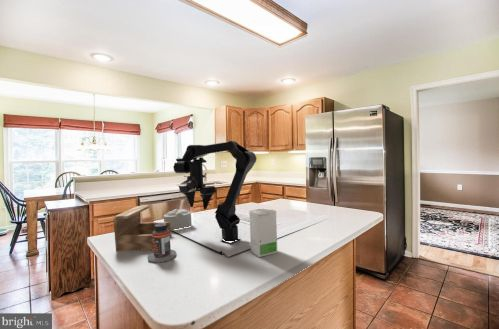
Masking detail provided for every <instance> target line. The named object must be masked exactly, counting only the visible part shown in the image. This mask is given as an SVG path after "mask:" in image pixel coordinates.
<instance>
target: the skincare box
mask: <svg viewBox="0 0 499 329" xmlns="http://www.w3.org/2000/svg"><path fill="white" fill-rule="evenodd" d="M248 212H249V231H250V232H249V234H250V236H249V237H250V252H251V253H252V254H254V255H255V256H256V257H258V258H261V257H265V256H269V255H273V254H277V253H278V231H277V229H278V227H277V226H278V225H277V210H274V209H271V208H268V207H266V208H257V209H253V210H252V209H251V210H249V211H248Z"/></svg>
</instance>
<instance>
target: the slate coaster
mask: <svg viewBox="0 0 499 329" xmlns="http://www.w3.org/2000/svg"><path fill="white" fill-rule="evenodd" d="M176 257H177V252H176V250H175V249H171V253H170V254H169V255H168V256H165V257H155V256H154V251H153V252H151V253H149V254H148V255H147V257H146V258H147V262H149V263H153V264H160V263H165V262H169V261H172V260H174V258H176Z"/></svg>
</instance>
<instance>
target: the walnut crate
mask: <svg viewBox="0 0 499 329" xmlns="http://www.w3.org/2000/svg"><path fill="white" fill-rule="evenodd" d="M147 209H150V206H149V205H136V206H135V207H132V208H130V209H128V210H125V211H124V212H121V213H119V214H117V215H115V216H113V217H114V218H113V231H114V232H113V233H114V244H115V251H116V252H122V251H129V252H130V251H131V252H132V251H154V250H153V231H155V225H156V224H159V223H166V226H167V227H166V228H167V229H168V230H169V232H170V236H171V234H172V233H171V232H172V231H171V230H170V222H164V221H161V222H158V221H157V222H141V217H140V213H141V212H144V211H146V210H147Z"/></svg>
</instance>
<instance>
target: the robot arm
mask: <svg viewBox="0 0 499 329" xmlns="http://www.w3.org/2000/svg"><path fill="white" fill-rule="evenodd" d="M223 152H229V153H230V155H231V156H232V157H233V158H234V160H235V173H234V176H233V178H232V180H231V183H230V187H229V189H228V191H227V194H226V197H225V200H224V201H223V202H221V203H218V204H217V207H216V210H215V211H214V214H215V215H214V216H215V217H214V218H215V219H216V222H217V225H218V226H219V228H220V229H221V239H224V240H225V241H235V240H238V237H239V228H238V227H239V226H238V224H240V222H241V219H240V218H239V216H238V215H237V214H236V210H237V208H236V203H237V200H238V198H239V195H240V192H241V190H242V188H243V185H244V183H245V180H246V177H247V175H248V174H249V172H250V171H251V170H252V168H253V167H254V166H255V163H256V162H257V156H256V154H255V153H254V152H253V151H250V150H248V149H247V148H246V147H243V146H242V145H241V144H239V143H238V142H237V141H235V140H228V141H225V142H219V143H211V144H205V145H204V144H189V145H187V146H186V149H185V152H184V153H183V156H182V157H181V158H175V160H176V161H175V162H174V164H173V171H174V172H175V174H189V175H188V176H187V180H183V182H181V183H179V184H178V185H177V186H178V188H179V192H180V193H181V194H183V195H184V196H185V197H186V199H187V201H188V204H189V206H190V208H194V204H195V196H196V192H199V193H200V194H199V196H200V197H201V199H202V206H203V210H207V208H208V205H209V203H210V201H211V199H212V198H213V195H215V193H217V187H215V186H214V185H206V183H204V178H206V175H205V174H204V171H203V164H204V163H207V160H206V159H205V158H204V157H205V156H208V155H209V154H216V153H217V154H218V153H223ZM238 241H239V240H238Z"/></svg>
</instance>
